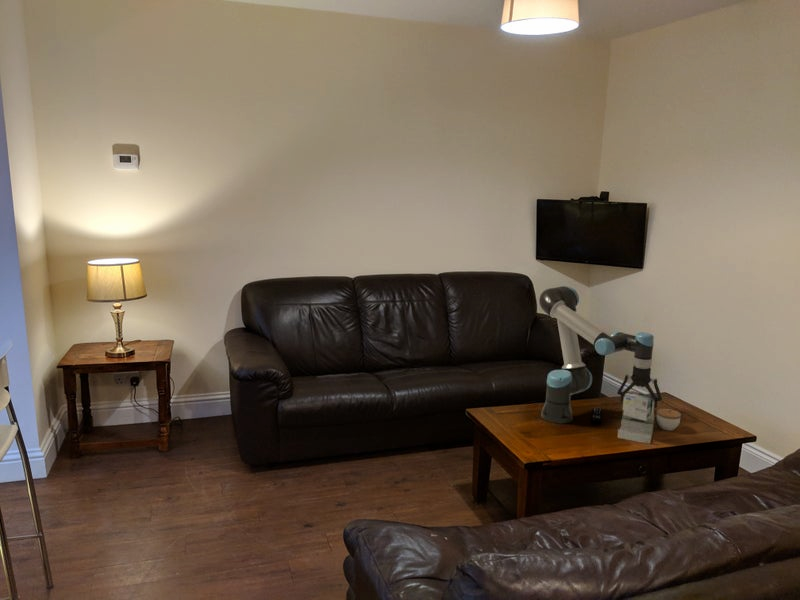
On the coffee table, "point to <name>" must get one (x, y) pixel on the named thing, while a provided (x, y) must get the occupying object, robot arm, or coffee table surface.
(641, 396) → the light bulb box
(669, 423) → the lidded jar
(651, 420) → the olive green block
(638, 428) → the chute
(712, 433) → the coffee table surface
